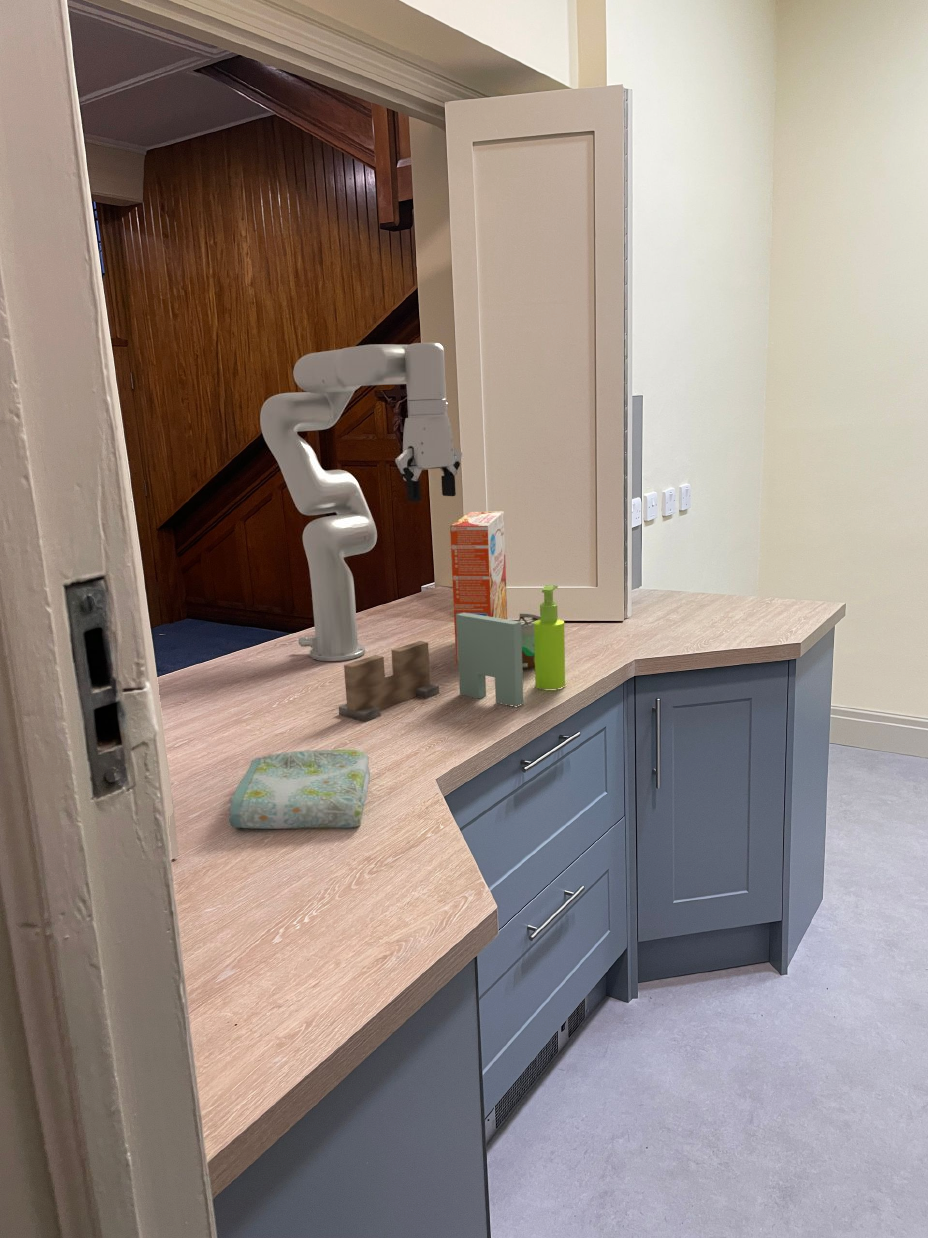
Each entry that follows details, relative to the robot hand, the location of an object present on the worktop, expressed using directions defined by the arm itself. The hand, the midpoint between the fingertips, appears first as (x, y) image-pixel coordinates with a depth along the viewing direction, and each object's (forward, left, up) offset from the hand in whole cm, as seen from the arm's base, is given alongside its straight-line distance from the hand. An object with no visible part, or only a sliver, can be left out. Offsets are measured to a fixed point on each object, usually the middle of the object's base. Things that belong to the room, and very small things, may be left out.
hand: (431, 498), depth 185 cm
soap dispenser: (+23, -3, -38) cm, 44 cm away
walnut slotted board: (-7, -15, -37) cm, 41 cm away
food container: (+18, +11, -38) cm, 43 cm away
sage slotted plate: (+12, -12, -37) cm, 41 cm away
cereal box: (+6, +24, -38) cm, 45 cm away
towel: (-10, -59, -38) cm, 71 cm away
